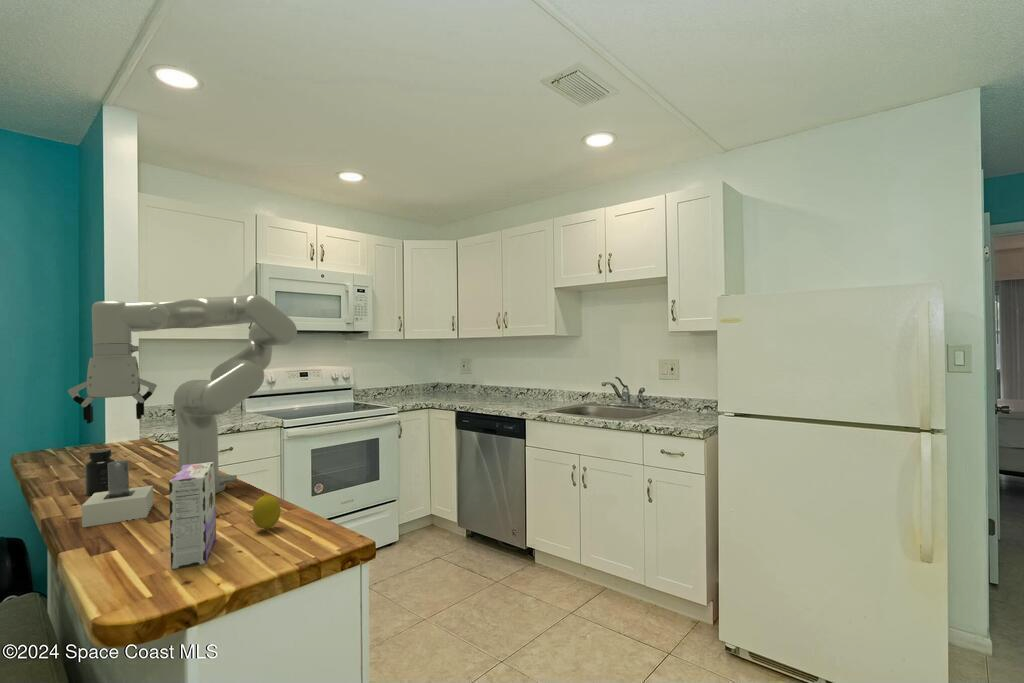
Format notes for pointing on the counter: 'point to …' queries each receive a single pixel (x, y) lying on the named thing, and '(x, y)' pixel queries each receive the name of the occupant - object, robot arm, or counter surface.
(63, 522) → the counter surface
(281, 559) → the counter surface
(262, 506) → the lemon
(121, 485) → the peg
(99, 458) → the supplement bottle
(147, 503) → the socket block
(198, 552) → the candy box
